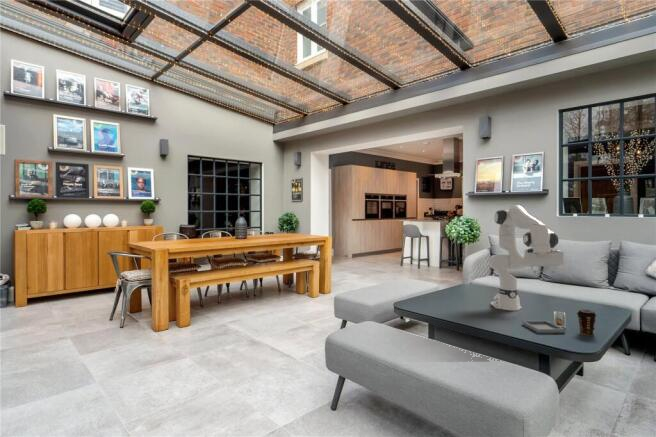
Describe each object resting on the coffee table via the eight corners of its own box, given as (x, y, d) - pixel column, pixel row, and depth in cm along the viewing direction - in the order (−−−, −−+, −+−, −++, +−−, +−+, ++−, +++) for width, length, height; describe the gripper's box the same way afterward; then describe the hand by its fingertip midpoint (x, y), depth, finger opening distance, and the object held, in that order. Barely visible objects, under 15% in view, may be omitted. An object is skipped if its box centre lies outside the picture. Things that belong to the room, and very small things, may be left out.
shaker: (554, 324, 215) (554, 311, 215) (564, 325, 212) (564, 312, 212) (554, 326, 209) (554, 313, 209) (565, 328, 207) (565, 314, 207)
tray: (522, 325, 213) (522, 320, 213) (546, 324, 214) (546, 320, 214) (538, 333, 197) (538, 329, 197) (564, 333, 198) (564, 329, 198)
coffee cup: (588, 331, 201) (588, 308, 201) (600, 336, 193) (600, 312, 193) (574, 331, 201) (573, 309, 201) (585, 336, 192) (585, 313, 192)
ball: (555, 323, 213) (555, 318, 213) (560, 324, 213) (560, 319, 213) (558, 324, 210) (558, 319, 210) (563, 324, 210) (563, 319, 210)
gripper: (562, 250, 201) (565, 274, 198) (522, 251, 211) (524, 274, 208) (563, 249, 196) (566, 273, 193) (522, 250, 206) (524, 273, 202)
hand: (544, 274), depth 200 cm, fingers open, 8 cm apart
